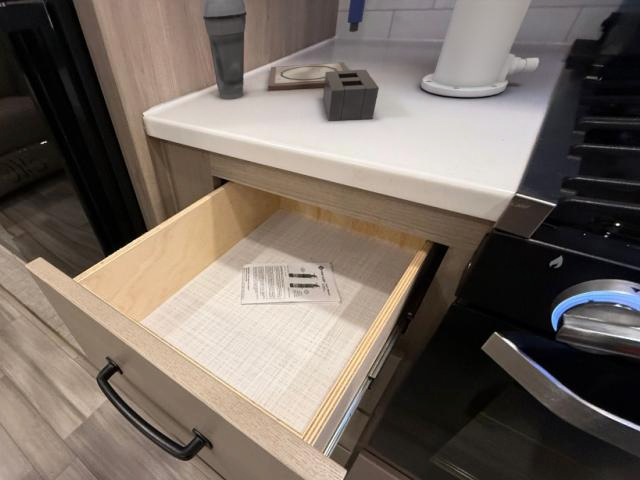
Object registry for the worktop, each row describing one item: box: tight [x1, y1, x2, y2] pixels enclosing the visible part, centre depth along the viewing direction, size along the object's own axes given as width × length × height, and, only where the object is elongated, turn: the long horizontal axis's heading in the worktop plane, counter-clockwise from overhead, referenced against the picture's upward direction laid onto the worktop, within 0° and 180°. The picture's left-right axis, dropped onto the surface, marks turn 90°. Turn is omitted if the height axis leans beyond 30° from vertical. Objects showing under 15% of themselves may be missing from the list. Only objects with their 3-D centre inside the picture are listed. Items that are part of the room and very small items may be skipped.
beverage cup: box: [202, 0, 247, 100], centre depth 54 cm, size 7×7×20 cm
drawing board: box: [267, 61, 349, 91], centre depth 66 cm, size 16×16×1 cm
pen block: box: [322, 68, 380, 122], centre depth 50 cm, size 6×11×4 cm, turn 174°
